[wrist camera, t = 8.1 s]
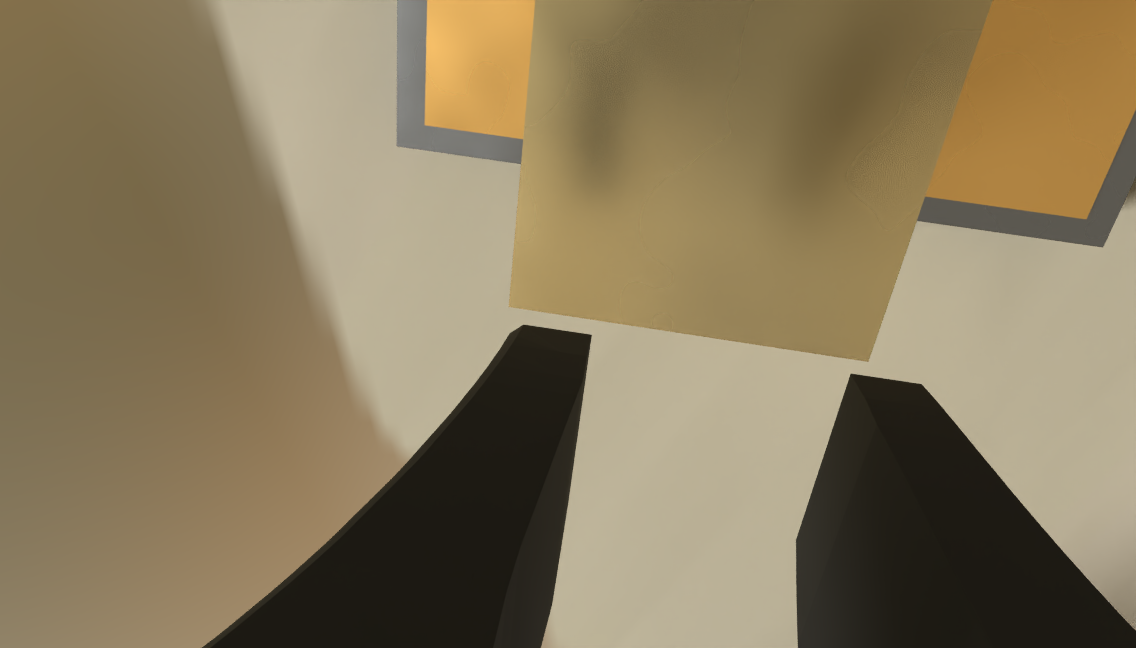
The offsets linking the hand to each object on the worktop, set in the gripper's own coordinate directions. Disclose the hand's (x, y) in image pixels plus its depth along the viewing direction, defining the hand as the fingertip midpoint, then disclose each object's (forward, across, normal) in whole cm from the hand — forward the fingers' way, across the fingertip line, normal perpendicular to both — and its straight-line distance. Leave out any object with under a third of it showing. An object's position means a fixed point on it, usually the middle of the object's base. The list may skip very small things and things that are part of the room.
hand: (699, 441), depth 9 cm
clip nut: (+8, 0, -1) cm, 8 cm away
